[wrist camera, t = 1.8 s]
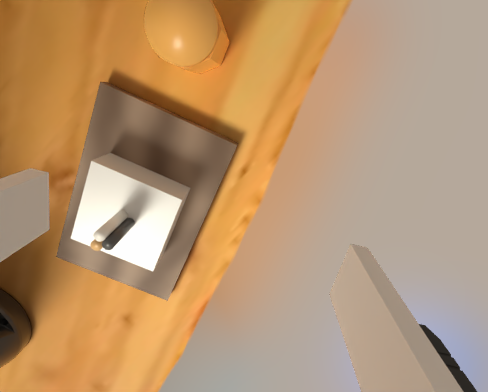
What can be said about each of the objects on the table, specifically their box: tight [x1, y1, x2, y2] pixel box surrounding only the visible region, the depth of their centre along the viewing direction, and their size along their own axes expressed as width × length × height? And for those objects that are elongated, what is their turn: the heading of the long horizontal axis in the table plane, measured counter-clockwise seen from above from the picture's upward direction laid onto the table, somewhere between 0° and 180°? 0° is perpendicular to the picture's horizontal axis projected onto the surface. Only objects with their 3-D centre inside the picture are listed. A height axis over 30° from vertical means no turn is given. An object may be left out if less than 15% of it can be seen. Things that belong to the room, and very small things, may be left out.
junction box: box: [71, 153, 190, 271], centre depth 31 cm, size 10×10×9 cm
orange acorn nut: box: [144, 0, 230, 74], centre depth 26 cm, size 6×6×8 cm
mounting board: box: [56, 82, 238, 301], centre depth 36 cm, size 16×24×2 cm, turn 155°
